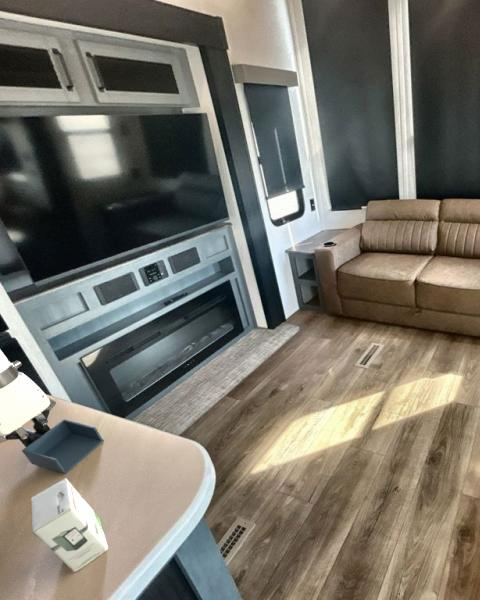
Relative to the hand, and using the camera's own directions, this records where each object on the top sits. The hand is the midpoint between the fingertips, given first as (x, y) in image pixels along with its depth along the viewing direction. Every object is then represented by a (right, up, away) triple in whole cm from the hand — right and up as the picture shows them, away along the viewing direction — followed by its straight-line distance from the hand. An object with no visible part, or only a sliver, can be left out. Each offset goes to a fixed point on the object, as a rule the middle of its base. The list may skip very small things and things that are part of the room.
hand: (42, 442), depth 83 cm
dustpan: (+4, -1, 0) cm, 4 cm away
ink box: (+28, -10, -20) cm, 36 cm away
